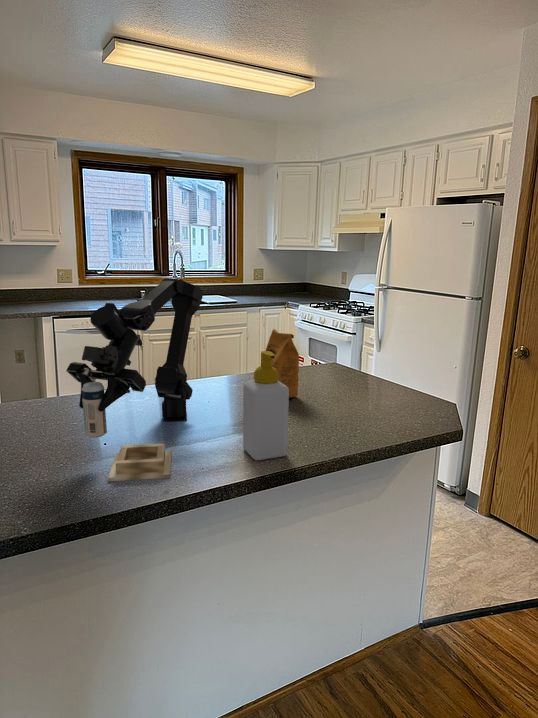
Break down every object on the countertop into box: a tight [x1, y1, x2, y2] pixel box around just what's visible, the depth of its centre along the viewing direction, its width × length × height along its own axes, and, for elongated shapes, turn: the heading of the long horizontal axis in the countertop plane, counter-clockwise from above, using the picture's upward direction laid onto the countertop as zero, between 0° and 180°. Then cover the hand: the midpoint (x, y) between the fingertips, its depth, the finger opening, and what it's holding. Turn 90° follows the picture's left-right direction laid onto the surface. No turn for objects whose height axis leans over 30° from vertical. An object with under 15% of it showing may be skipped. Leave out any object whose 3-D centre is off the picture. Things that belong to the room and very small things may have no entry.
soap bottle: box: [242, 350, 290, 461], centre depth 120 cm, size 9×9×25 cm
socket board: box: [107, 442, 173, 482], centre depth 114 cm, size 13×13×3 cm
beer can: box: [82, 381, 108, 439], centre depth 113 cm, size 5×5×12 cm
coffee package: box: [265, 328, 300, 399], centre depth 167 cm, size 10×12×22 cm
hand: (90, 409), depth 112 cm, fingers closed on beer can, 5 cm apart
